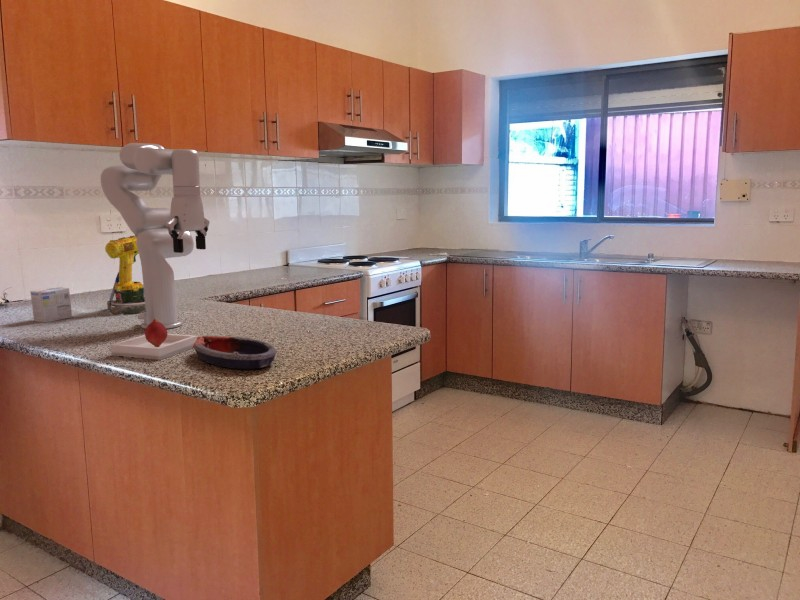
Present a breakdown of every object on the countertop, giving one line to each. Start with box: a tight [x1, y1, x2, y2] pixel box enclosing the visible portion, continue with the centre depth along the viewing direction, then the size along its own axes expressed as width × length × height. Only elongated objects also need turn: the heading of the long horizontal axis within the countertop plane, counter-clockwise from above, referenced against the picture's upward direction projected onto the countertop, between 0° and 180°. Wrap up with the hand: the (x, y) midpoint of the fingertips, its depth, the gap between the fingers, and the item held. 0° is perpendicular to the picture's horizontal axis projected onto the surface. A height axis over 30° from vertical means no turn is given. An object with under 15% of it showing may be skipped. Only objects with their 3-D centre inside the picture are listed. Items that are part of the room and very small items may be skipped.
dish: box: [193, 335, 277, 370], centre depth 167 cm, size 16×31×5 cm, turn 44°
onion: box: [144, 318, 168, 347], centre depth 179 cm, size 6×6×8 cm
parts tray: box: [109, 333, 199, 361], centre depth 179 cm, size 16×16×3 cm
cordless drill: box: [104, 234, 146, 315], centre depth 244 cm, size 18×19×28 cm
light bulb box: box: [30, 286, 73, 324], centre depth 229 cm, size 11×7×11 cm, turn 149°
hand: (190, 250), depth 194 cm, fingers open, 9 cm apart
